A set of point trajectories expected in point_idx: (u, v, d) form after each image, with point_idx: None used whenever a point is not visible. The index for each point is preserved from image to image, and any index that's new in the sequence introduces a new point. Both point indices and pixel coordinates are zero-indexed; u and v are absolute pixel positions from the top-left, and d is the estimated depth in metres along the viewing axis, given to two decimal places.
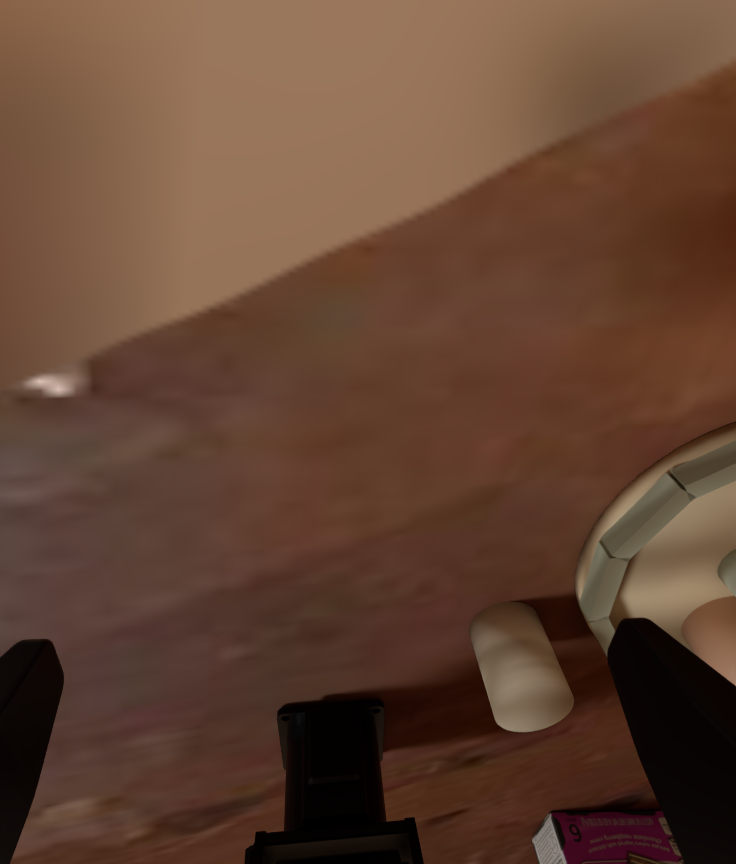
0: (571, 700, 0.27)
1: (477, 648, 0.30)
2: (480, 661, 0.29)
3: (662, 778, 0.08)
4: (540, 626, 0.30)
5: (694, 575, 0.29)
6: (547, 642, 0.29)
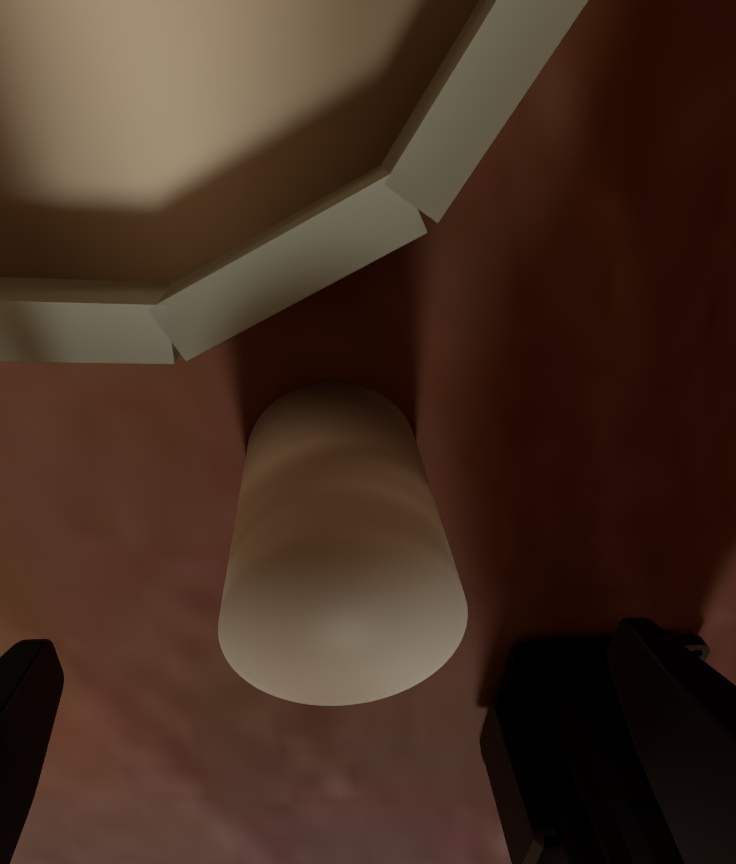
0: (316, 549, 0.08)
1: None
2: None
3: (662, 778, 0.08)
4: (267, 434, 0.11)
5: None
6: (266, 462, 0.10)
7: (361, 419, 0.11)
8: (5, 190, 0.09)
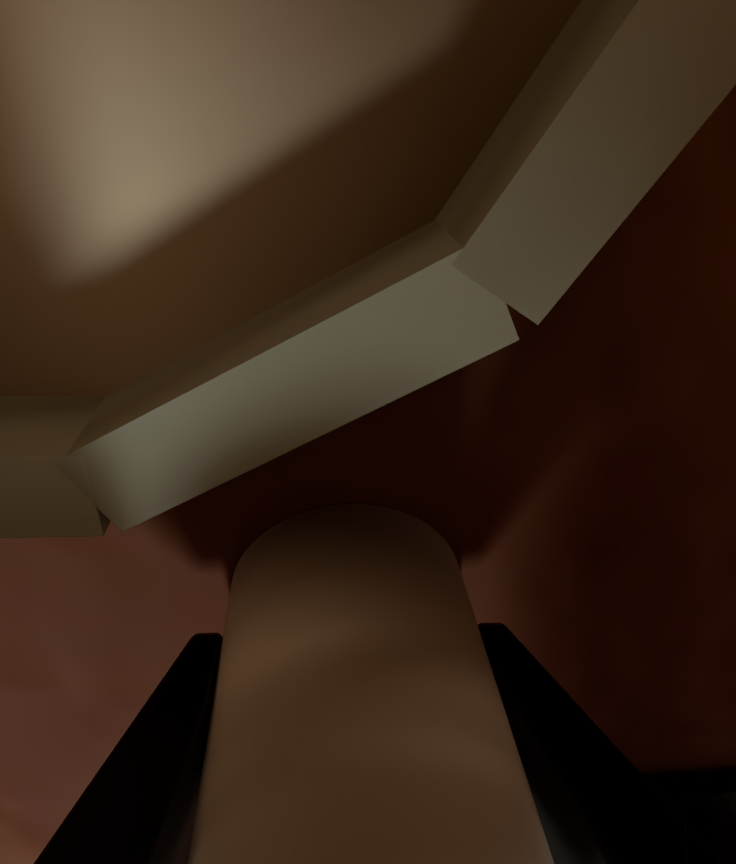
0: None
1: None
2: None
3: None
4: (257, 594, 0.08)
5: None
6: (252, 656, 0.07)
7: (393, 577, 0.07)
8: None
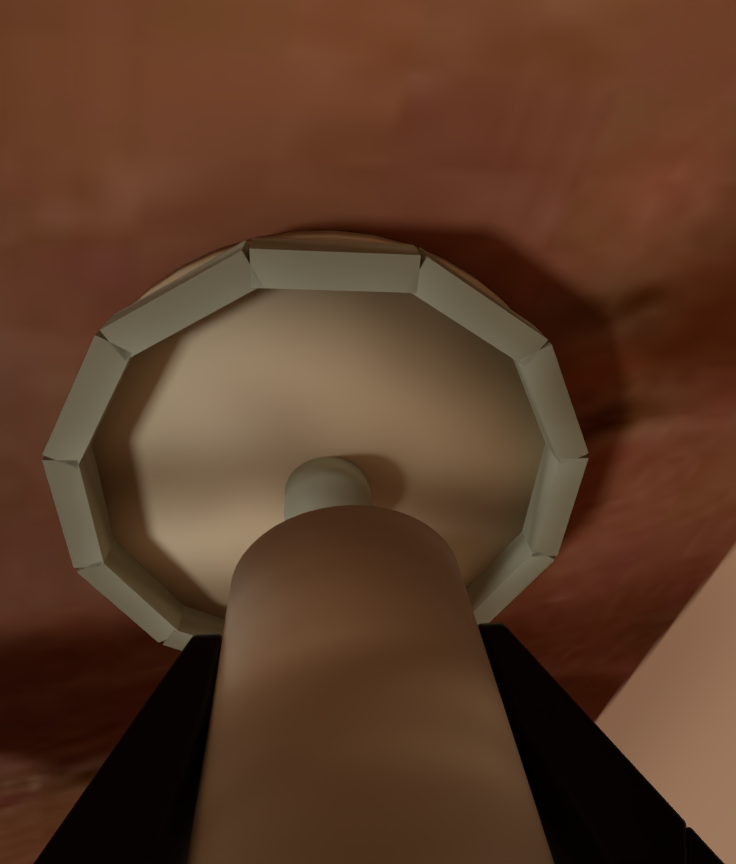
0: None
1: None
2: None
3: None
4: (256, 596, 0.08)
5: (253, 507, 0.20)
6: (251, 659, 0.07)
7: (394, 580, 0.07)
8: (144, 486, 0.19)
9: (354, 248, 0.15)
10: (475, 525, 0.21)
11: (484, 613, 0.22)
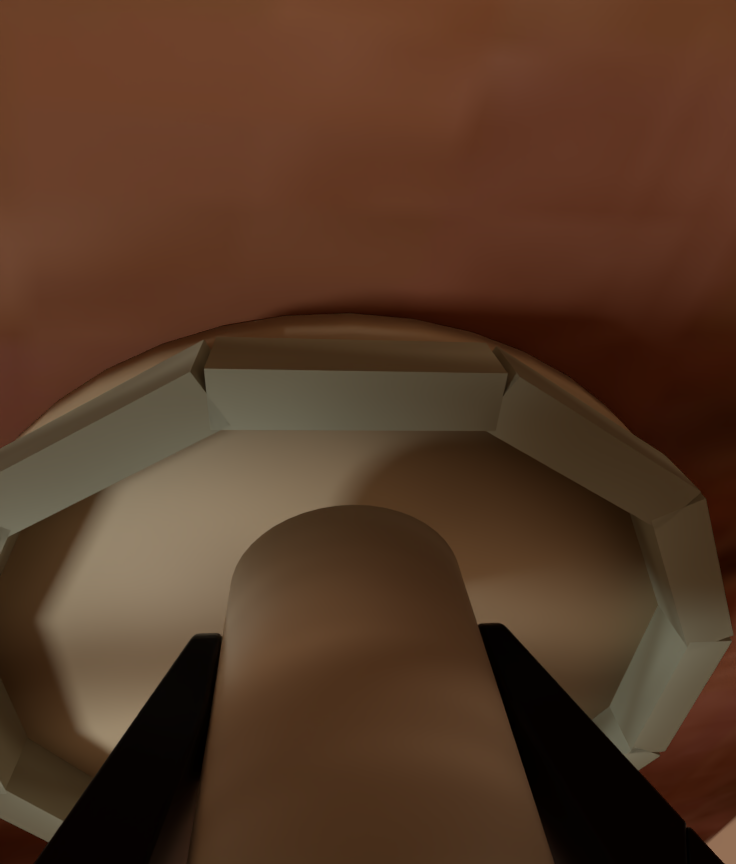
0: None
1: None
2: None
3: None
4: (256, 596, 0.08)
5: None
6: (251, 659, 0.07)
7: (394, 580, 0.07)
8: (65, 676, 0.13)
9: (390, 357, 0.08)
10: None
11: None
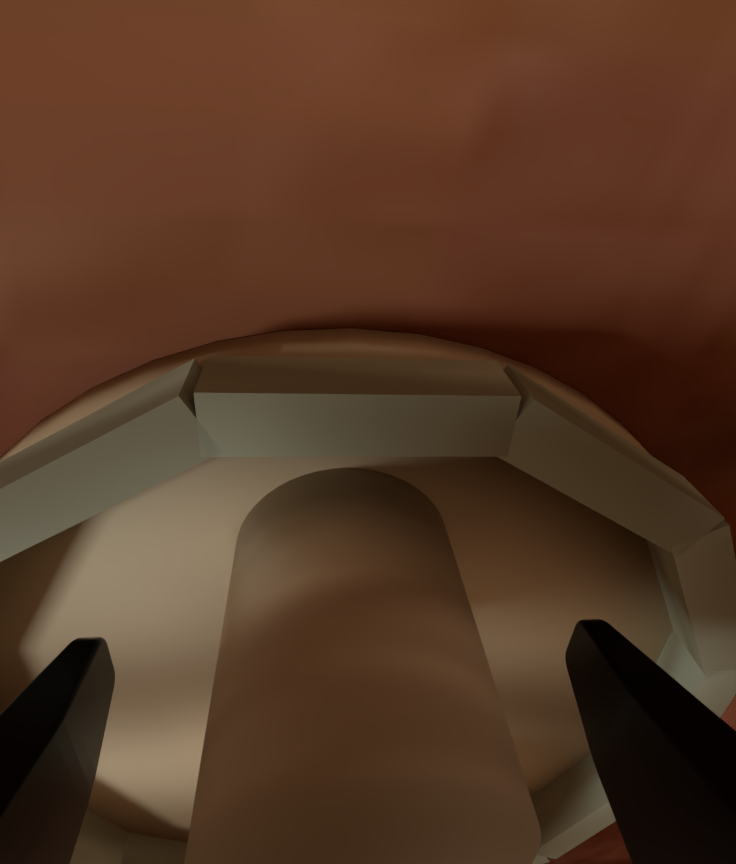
0: (326, 789, 0.05)
1: None
2: None
3: (613, 781, 0.08)
4: (260, 546, 0.08)
5: None
6: (256, 596, 0.08)
7: (384, 530, 0.08)
8: None
9: (394, 378, 0.08)
10: (554, 727, 0.14)
11: (562, 843, 0.15)
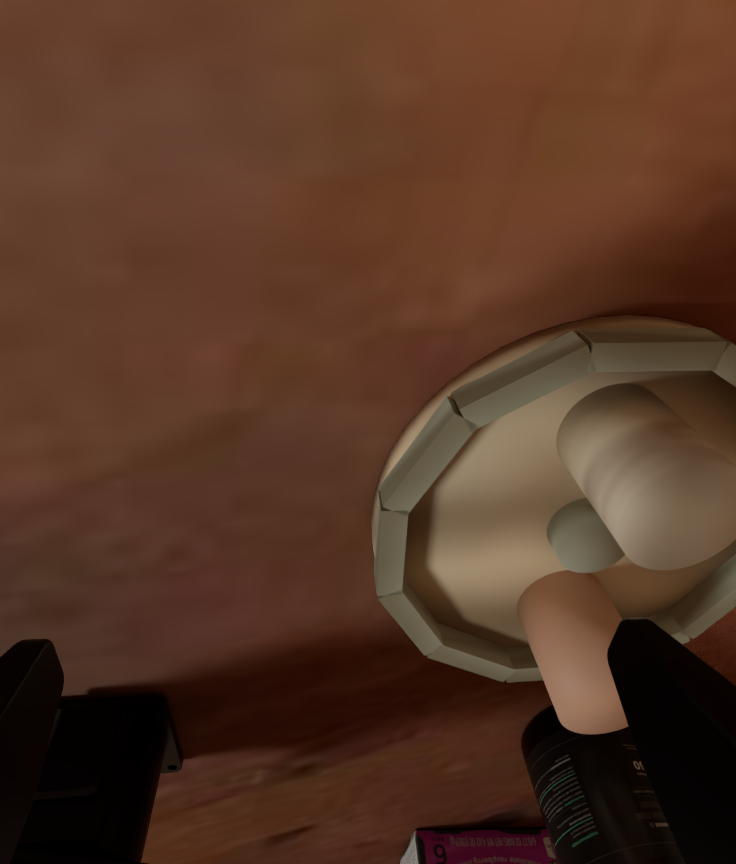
0: (692, 472, 0.15)
1: None
2: None
3: (662, 778, 0.08)
4: (598, 416, 0.18)
5: (518, 540, 0.23)
6: (612, 432, 0.18)
7: (659, 405, 0.18)
8: (435, 526, 0.22)
9: (667, 336, 0.18)
10: None
11: (699, 625, 0.25)
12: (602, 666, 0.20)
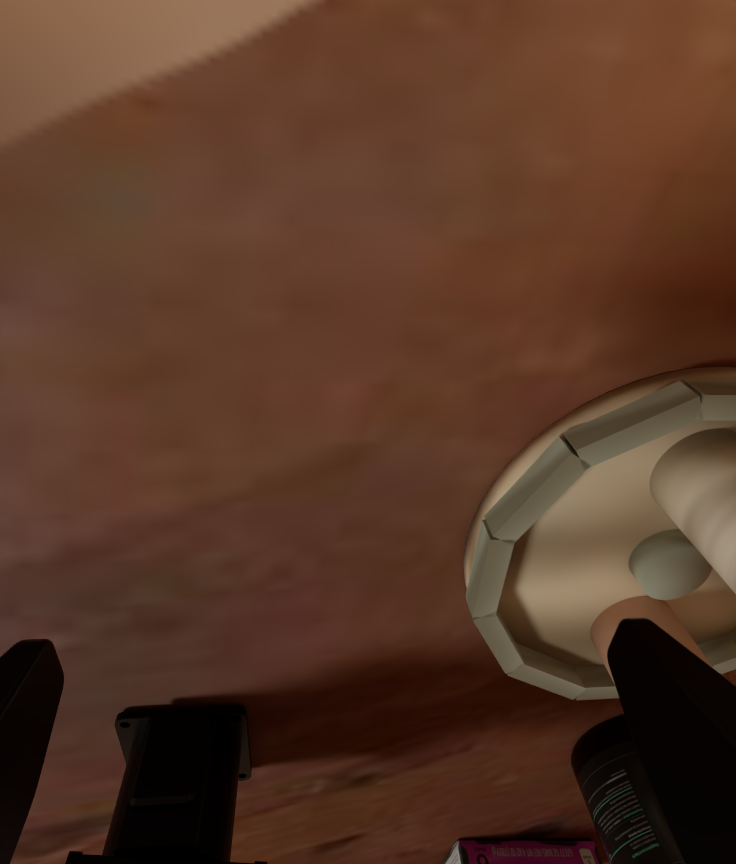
0: None
1: None
2: None
3: (662, 778, 0.08)
4: (699, 459, 0.20)
5: (601, 568, 0.24)
6: (717, 475, 0.19)
7: None
8: (528, 553, 0.24)
9: None
10: None
11: None
12: None
